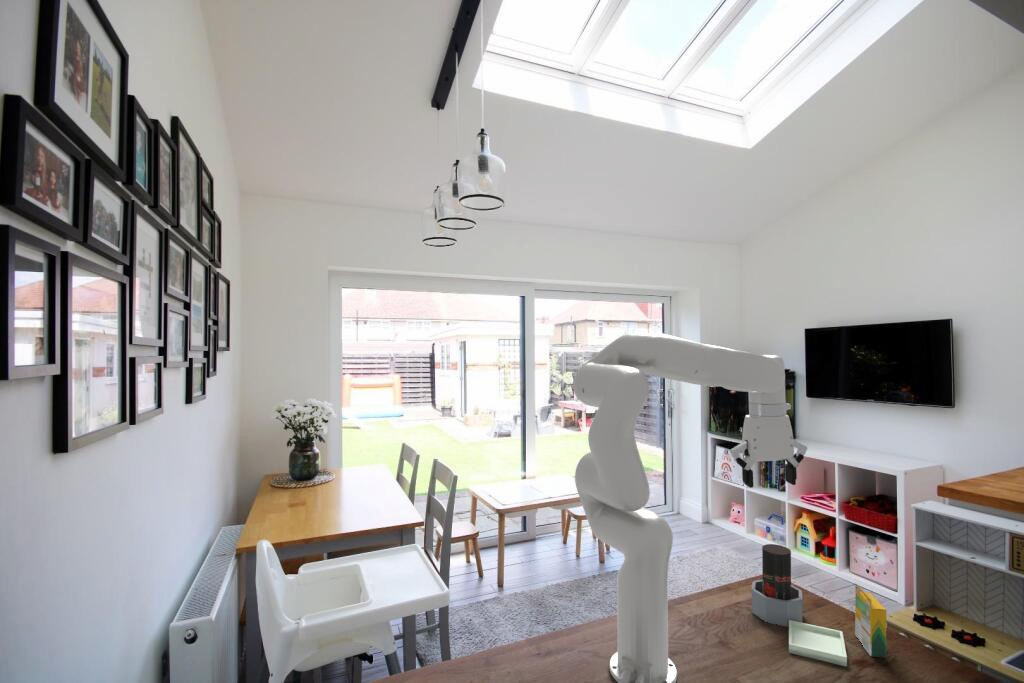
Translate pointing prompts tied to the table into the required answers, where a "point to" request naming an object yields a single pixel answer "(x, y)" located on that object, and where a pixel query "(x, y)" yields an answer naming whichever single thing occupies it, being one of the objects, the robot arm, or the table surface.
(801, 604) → the grey octagonal container
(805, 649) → the tray
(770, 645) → the table surface
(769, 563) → the deodorant
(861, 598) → the crayon box
